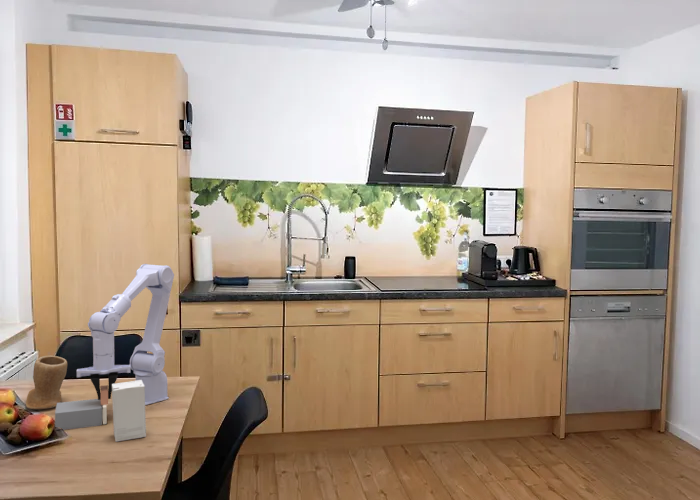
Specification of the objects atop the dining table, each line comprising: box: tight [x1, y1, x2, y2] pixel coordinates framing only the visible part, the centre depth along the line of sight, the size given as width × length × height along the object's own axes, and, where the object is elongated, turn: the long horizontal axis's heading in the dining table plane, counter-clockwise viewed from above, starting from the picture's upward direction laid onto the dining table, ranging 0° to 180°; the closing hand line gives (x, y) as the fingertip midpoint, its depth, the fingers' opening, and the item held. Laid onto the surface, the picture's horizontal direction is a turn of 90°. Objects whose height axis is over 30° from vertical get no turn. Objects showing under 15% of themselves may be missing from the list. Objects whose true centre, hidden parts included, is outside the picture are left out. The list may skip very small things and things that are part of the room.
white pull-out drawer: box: [100, 384, 109, 425], centre depth 173 cm, size 13×9×9 cm
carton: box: [54, 398, 103, 431], centre depth 173 cm, size 12×9×5 cm
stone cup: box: [25, 355, 68, 410], centre depth 187 cm, size 15×12×15 cm
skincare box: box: [111, 379, 147, 442], centre depth 163 cm, size 8×6×15 cm
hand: (104, 398), depth 175 cm, fingers open, 2 cm apart
